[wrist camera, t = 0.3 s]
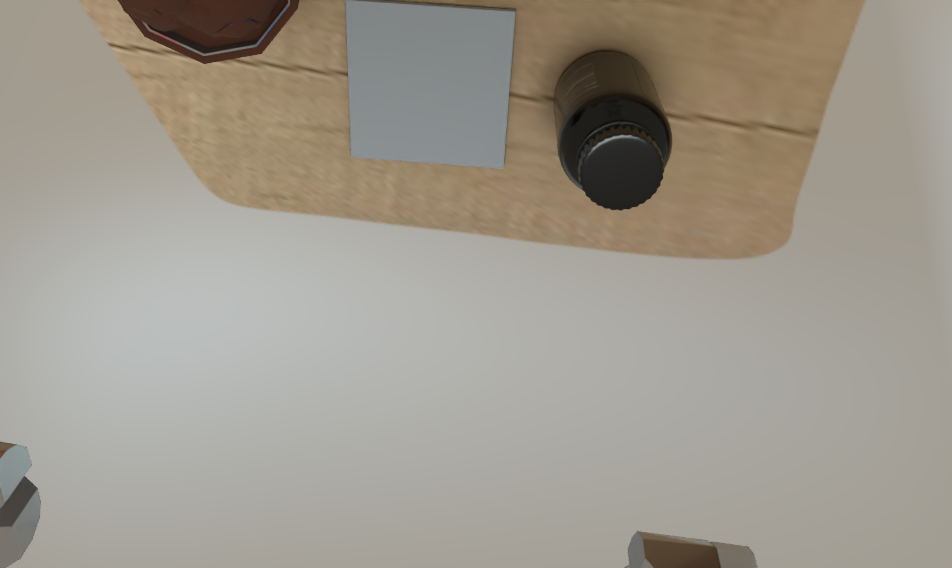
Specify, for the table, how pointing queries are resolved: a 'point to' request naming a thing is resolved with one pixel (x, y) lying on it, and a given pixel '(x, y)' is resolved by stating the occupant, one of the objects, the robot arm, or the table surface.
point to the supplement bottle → (611, 130)
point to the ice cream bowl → (211, 25)
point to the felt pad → (429, 81)
